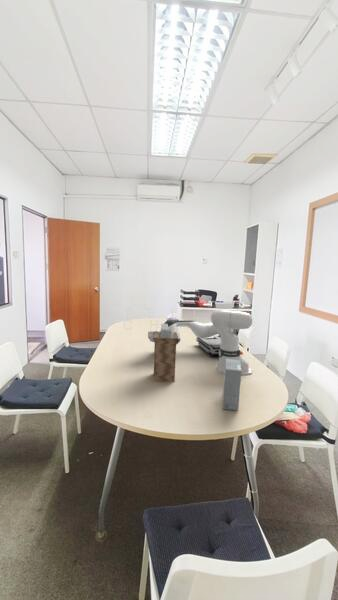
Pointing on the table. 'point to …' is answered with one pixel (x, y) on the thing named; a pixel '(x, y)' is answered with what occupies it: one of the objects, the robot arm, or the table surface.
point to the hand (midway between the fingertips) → (163, 332)
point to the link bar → (165, 331)
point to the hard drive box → (231, 384)
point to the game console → (210, 345)
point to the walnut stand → (164, 357)
